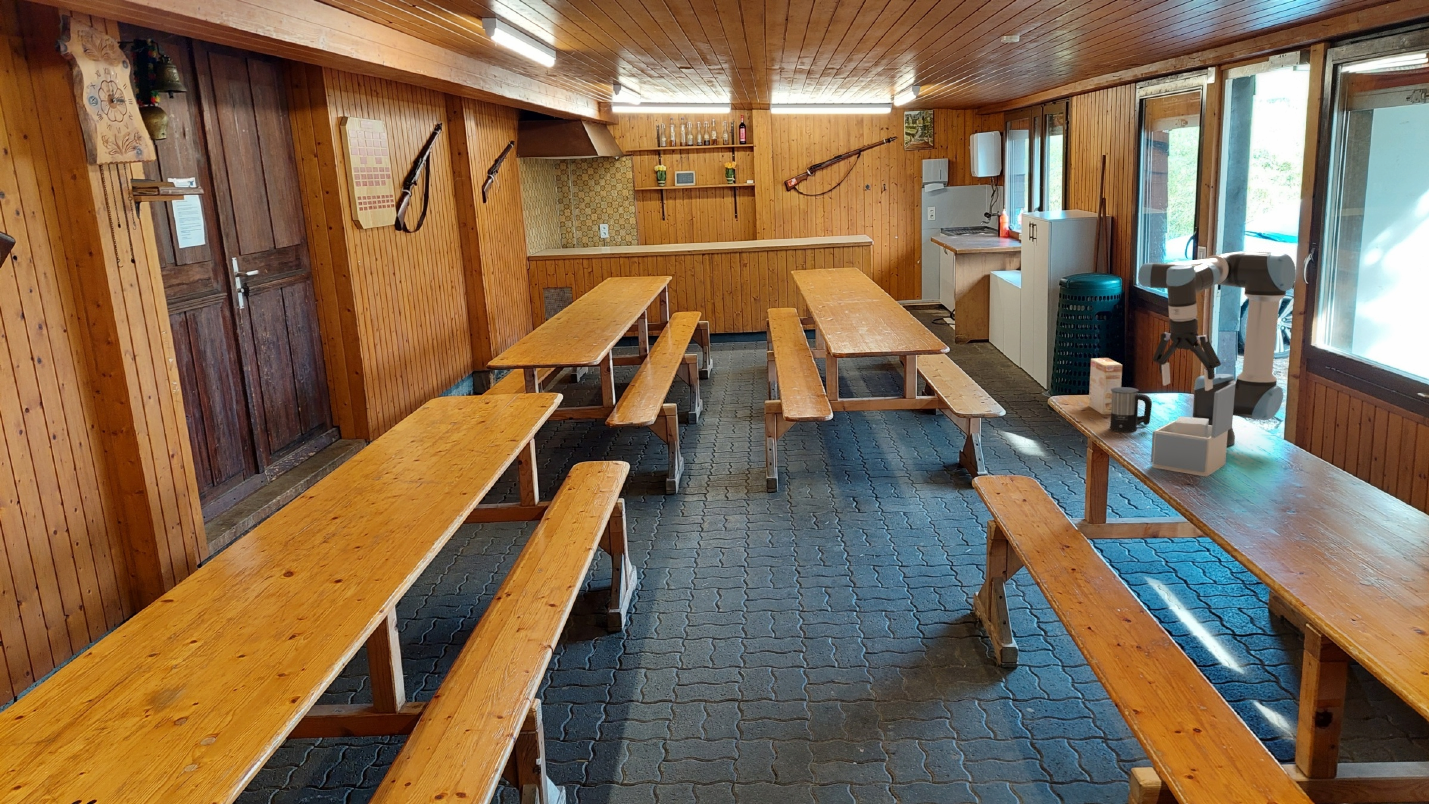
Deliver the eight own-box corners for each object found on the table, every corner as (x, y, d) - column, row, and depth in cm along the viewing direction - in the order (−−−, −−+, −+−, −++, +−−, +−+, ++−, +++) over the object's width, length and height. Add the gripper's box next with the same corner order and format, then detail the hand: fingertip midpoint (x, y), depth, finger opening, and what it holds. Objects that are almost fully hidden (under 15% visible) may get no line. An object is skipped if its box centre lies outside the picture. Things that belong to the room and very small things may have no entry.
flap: (1211, 437, 298) (1214, 392, 295) (1228, 427, 308) (1231, 383, 305) (1214, 438, 297) (1218, 392, 294) (1231, 427, 307) (1235, 384, 304)
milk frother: (1110, 432, 354) (1112, 391, 351) (1105, 421, 369) (1107, 382, 366) (1153, 433, 351) (1155, 392, 347) (1146, 422, 365) (1149, 383, 362)
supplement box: (1202, 471, 306) (1206, 424, 302) (1171, 468, 310) (1174, 422, 307) (1206, 463, 313) (1209, 418, 310) (1175, 460, 318) (1178, 415, 314)
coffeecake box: (1120, 414, 379) (1123, 364, 374) (1101, 414, 379) (1104, 365, 374) (1106, 405, 393) (1108, 357, 389) (1088, 406, 393) (1090, 358, 389)
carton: (1148, 467, 312) (1150, 430, 309) (1170, 454, 324) (1172, 419, 321) (1205, 477, 300) (1208, 439, 297) (1226, 463, 312) (1229, 427, 309)
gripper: (1137, 319, 298) (1142, 385, 304) (1216, 324, 278) (1220, 395, 283) (1152, 312, 302) (1157, 378, 308) (1231, 317, 281) (1235, 387, 287)
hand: (1187, 386), depth 295 cm, fingers open, 13 cm apart
